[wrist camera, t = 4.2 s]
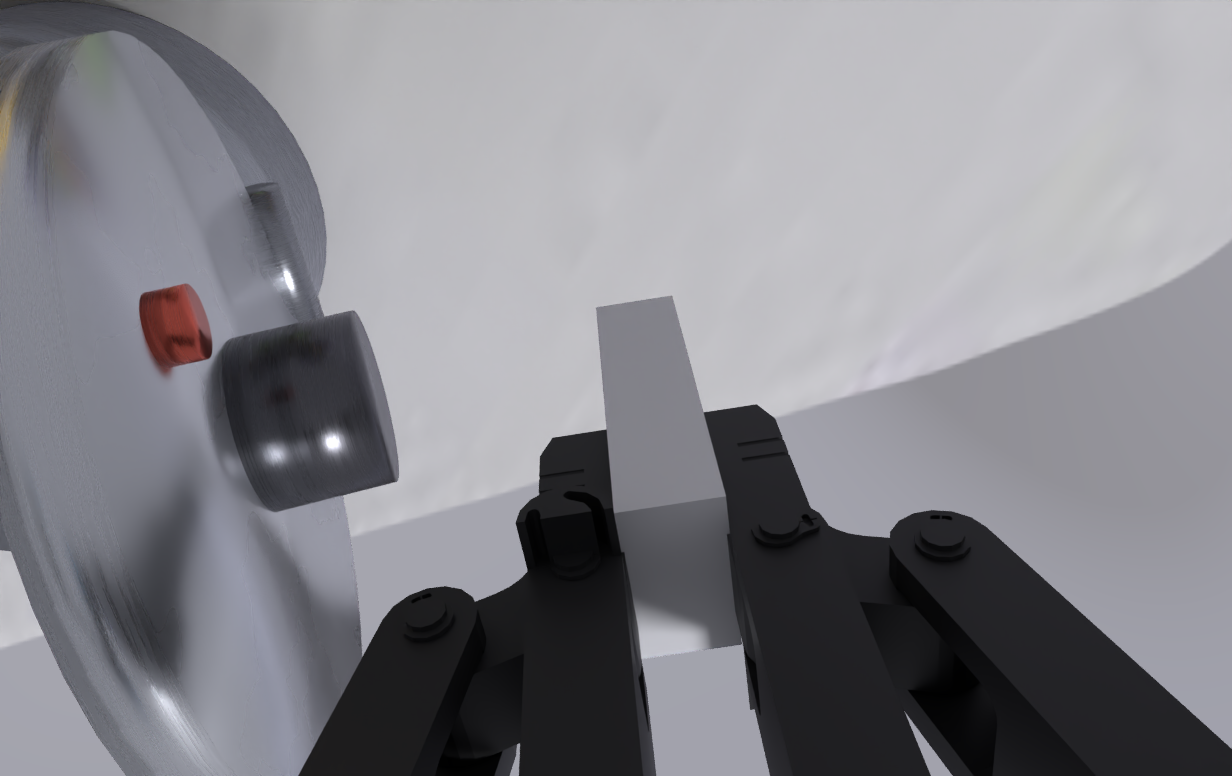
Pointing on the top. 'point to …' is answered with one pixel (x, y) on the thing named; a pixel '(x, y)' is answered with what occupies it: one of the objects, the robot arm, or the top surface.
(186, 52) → the pot
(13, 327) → the lid
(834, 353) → the top surface
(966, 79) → the top surface
